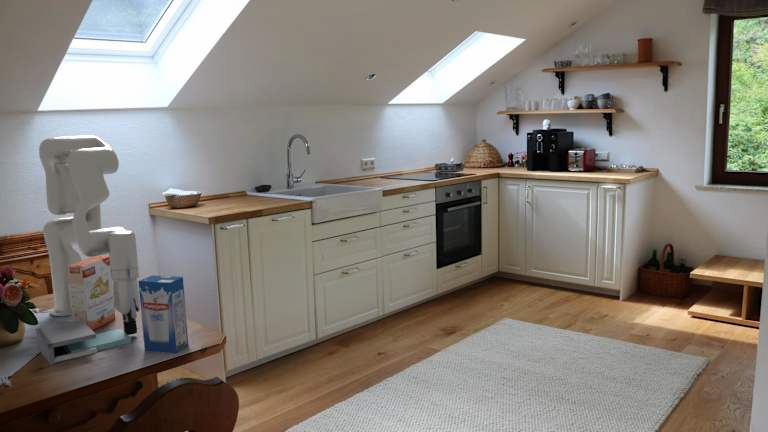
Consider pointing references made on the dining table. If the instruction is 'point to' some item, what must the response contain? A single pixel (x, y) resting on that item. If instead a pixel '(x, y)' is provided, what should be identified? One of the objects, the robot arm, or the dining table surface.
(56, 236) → the robot arm
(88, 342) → the tile
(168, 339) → the milk carton
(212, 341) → the dining table surface
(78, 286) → the cracker box
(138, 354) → the dining table surface
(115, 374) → the dining table surface
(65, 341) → the grey slotted box
